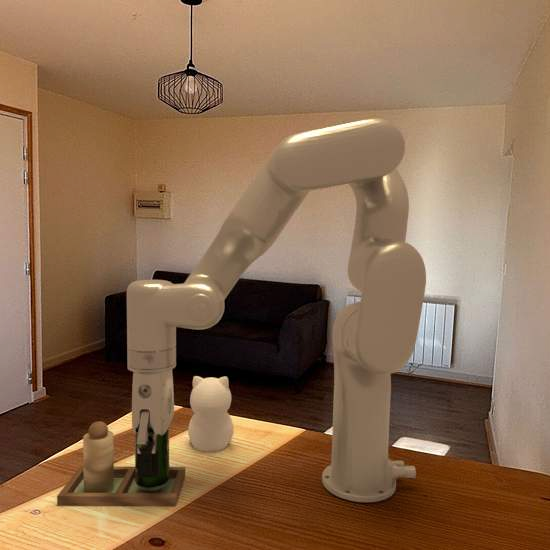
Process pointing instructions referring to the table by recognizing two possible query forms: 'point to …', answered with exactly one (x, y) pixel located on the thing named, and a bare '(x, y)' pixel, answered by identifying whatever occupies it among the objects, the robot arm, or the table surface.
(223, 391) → the cat figurine
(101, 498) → the caddy
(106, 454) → the pepper mill
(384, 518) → the table surface
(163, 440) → the guarana soda can
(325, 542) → the table surface
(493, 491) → the table surface
